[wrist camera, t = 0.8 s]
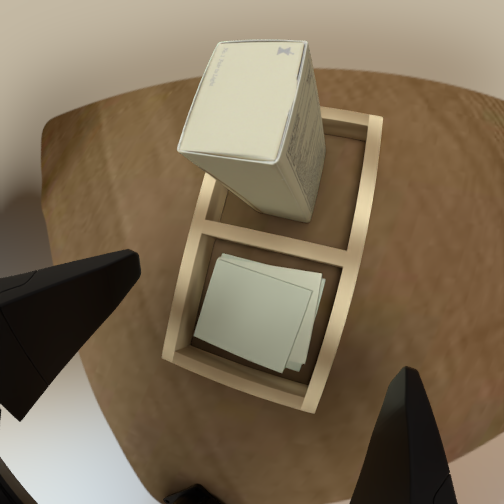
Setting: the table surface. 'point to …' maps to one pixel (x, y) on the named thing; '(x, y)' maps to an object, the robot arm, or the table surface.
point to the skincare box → (259, 125)
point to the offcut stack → (261, 312)
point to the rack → (210, 228)
